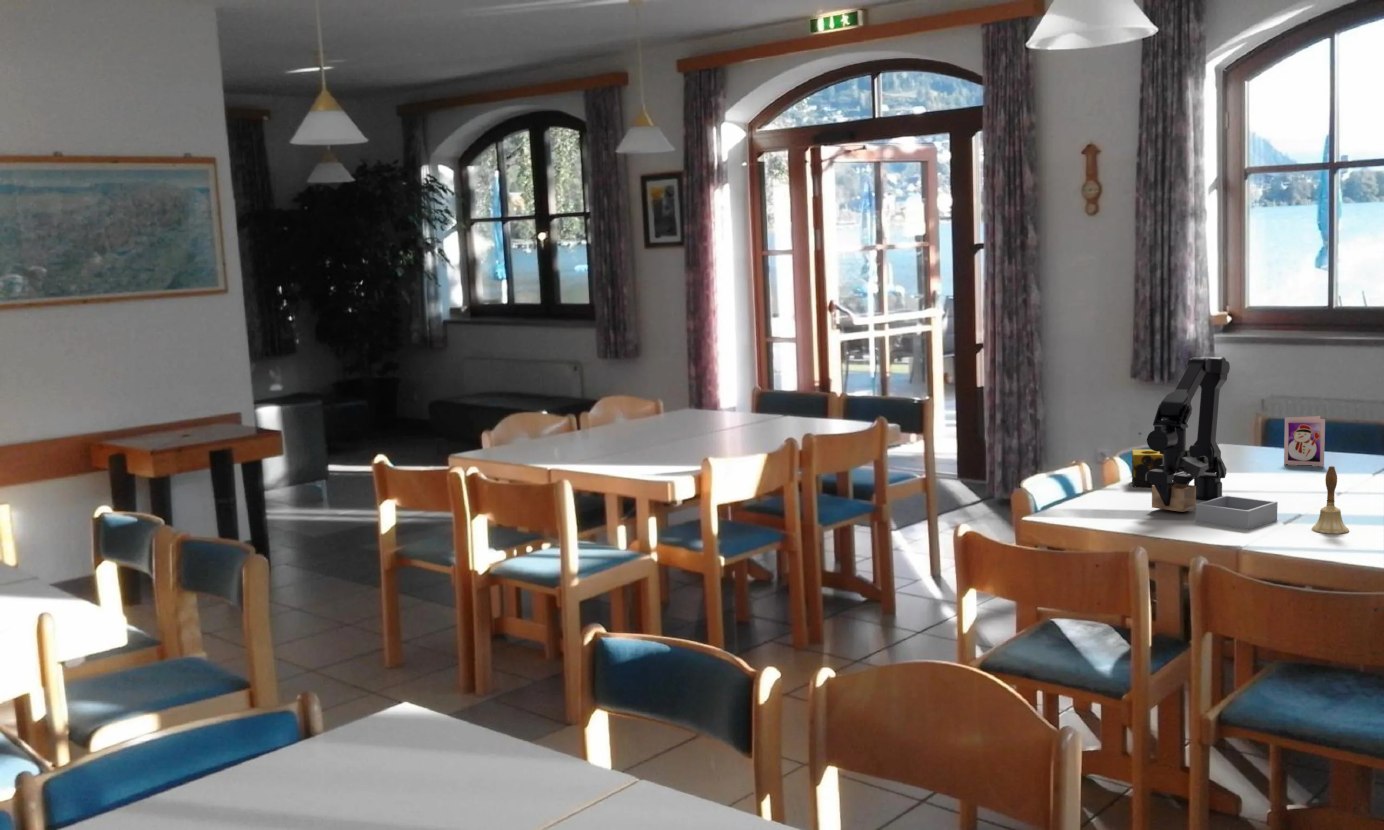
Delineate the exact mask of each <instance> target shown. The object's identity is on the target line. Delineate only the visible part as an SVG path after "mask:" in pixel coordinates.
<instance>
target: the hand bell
mask: <svg viewBox="0 0 1384 830" xmlns="http://www.w3.org/2000/svg"><path fill="white" fill-rule="evenodd" d="M1337 483H1338V475H1337V471H1336V467H1335V466H1333V465H1329V466H1328V469H1327V472H1326V474H1325V487H1326V490H1327V491H1326V493H1327V496H1326V506H1324V507H1321V508H1320V511H1319V518H1318V519H1317V522H1316V523H1315V525H1313V526H1312V528H1311V530H1312V531H1313V532H1314V533H1315V532H1316V533H1319V532H1320V534H1325V535H1326V534H1334V535H1338V534H1339V535H1340V534H1347V533H1349V532H1350V530H1349V528H1348V527H1347V526H1346V525H1345V523H1344V521H1343V518H1342V511H1341V509H1340V508H1338V507H1336V506H1335V493H1336V492H1335V491H1336V488H1337Z"/></svg>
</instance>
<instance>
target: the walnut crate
mask: <svg viewBox="0 0 1384 830" xmlns="http://www.w3.org/2000/svg"><path fill="white" fill-rule="evenodd" d="M1196 504H1197V499H1196V486H1194V484H1193V485H1192V484H1189V485H1185V484H1177V483H1175V484H1174V485H1173V486H1172V488H1171V497H1170V504H1169V506H1165V505H1164V503H1163V501H1162V499H1161V497H1160V495H1159V493H1158V491H1157V489H1156V488H1155V486H1154V485H1152V488H1151V508H1153V509H1161V510H1168V511H1175V512H1182V513H1183V512H1186V511H1187V512H1188V511H1190V510H1193V509H1196Z"/></svg>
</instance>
